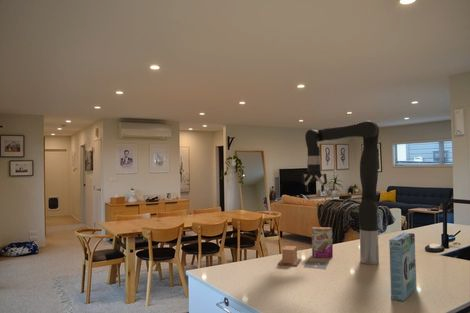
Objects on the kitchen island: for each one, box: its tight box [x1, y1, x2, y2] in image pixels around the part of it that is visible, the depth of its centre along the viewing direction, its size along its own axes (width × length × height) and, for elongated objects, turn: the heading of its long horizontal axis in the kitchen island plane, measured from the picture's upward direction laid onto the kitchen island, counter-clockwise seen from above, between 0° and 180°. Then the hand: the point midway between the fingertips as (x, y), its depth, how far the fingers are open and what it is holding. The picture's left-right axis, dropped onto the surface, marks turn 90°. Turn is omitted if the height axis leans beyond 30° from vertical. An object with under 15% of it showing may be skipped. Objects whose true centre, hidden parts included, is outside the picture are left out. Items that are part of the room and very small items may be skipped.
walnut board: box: [277, 257, 302, 268], centre depth 194 cm, size 10×13×1 cm
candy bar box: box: [311, 226, 334, 259], centre depth 206 cm, size 11×5×16 cm, turn 84°
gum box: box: [388, 232, 418, 302], centre depth 147 cm, size 20×5×23 cm, turn 140°
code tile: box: [303, 260, 329, 270], centre depth 189 cm, size 11×14×1 cm
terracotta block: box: [281, 245, 298, 264], centre depth 194 cm, size 6×9×7 cm, turn 160°
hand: (314, 191), depth 211 cm, fingers open, 8 cm apart
